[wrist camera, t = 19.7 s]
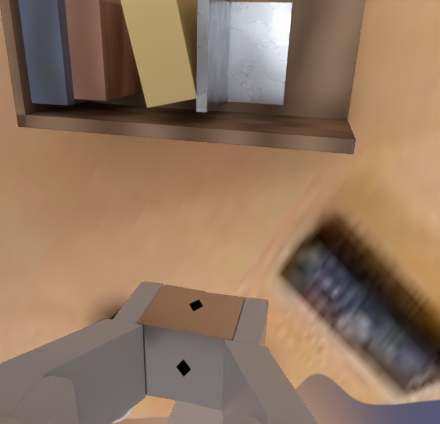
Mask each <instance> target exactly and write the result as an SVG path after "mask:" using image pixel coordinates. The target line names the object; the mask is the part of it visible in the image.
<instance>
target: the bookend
mask: <svg viewBox="0 0 440 424" xmlns="http://www.w3.org/2000/svg"><path fill="white" fill-rule="evenodd" d="M292 6H293V3H277V2H231V1H229V0H198V10H197V93H196V112H209V111H210V110H212V109H214V108H216V107H218V106H220V105H222V104H223V103H225V102H227V101H228V102H245V103H261V104H277V105H283V104H284V96H285V84H286V73H287V62H288V51H289V40H290V28H291V17H292Z"/></svg>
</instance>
